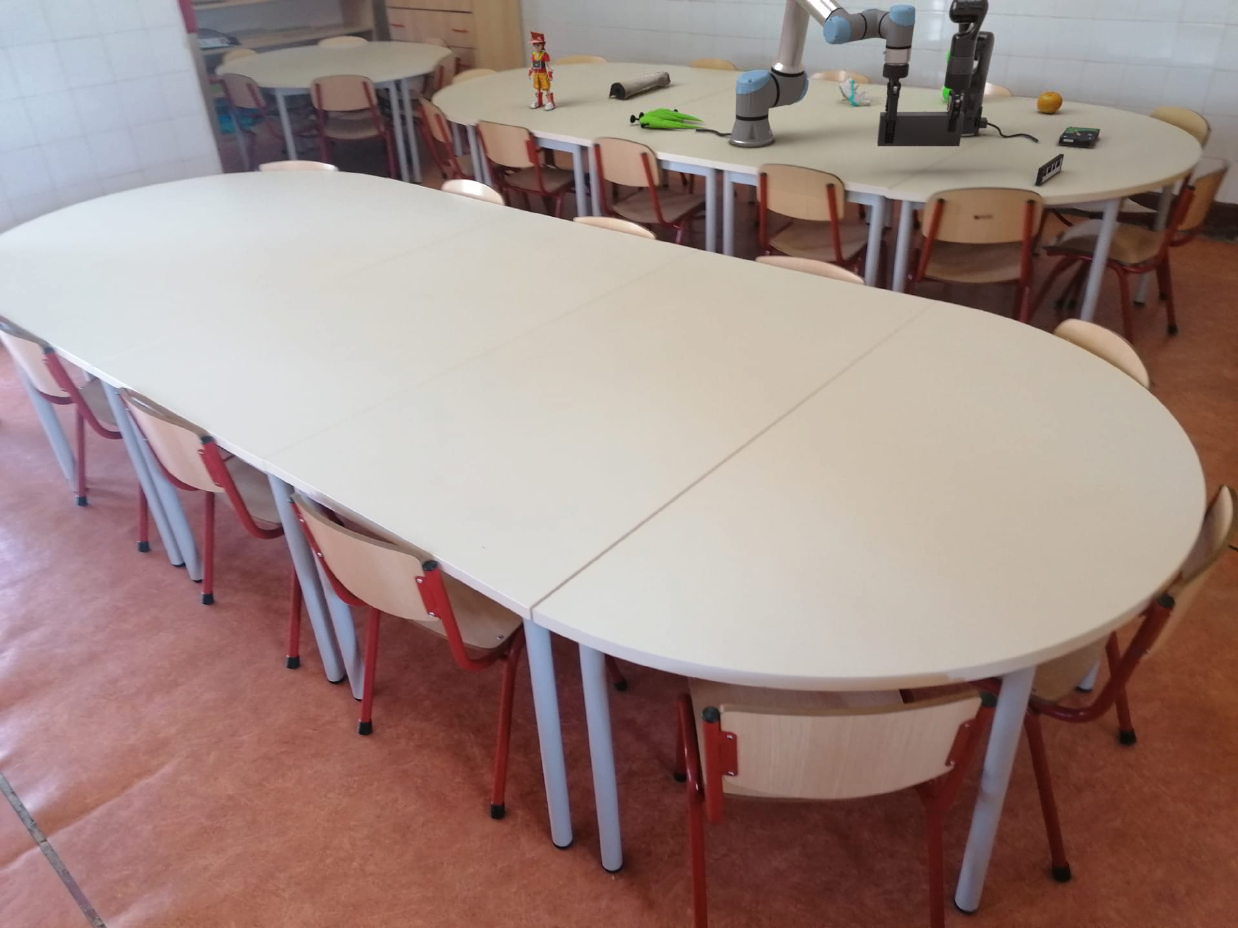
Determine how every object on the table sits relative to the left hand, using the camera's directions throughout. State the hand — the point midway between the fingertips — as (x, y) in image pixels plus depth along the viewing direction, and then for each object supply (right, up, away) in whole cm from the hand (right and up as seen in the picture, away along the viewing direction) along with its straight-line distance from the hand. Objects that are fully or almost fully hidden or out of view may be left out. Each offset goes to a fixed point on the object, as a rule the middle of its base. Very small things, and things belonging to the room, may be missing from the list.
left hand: (887, 138), depth 283 cm
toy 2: (-65, +29, +65) cm, 96 cm away
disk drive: (+71, +6, +21) cm, 74 cm away
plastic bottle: (+48, +40, +72) cm, 95 cm away
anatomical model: (+10, +44, +80) cm, 91 cm away
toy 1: (-118, +49, +100) cm, 162 cm away
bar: (+9, -2, -1) cm, 9 cm away
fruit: (+76, +29, +52) cm, 96 cm away
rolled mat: (-75, +62, +114) cm, 150 cm away
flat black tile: (+47, -15, -8) cm, 50 cm away
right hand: (+18, +1, -5) cm, 19 cm away
